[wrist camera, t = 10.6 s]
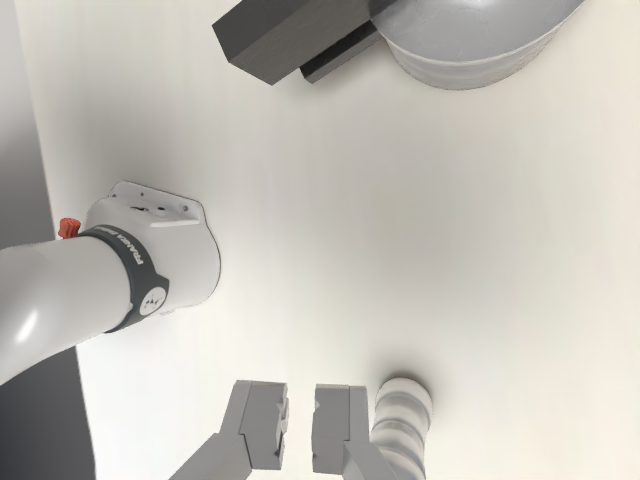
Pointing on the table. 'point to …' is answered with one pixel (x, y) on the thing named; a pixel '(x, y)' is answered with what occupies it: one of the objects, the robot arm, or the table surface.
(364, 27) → the cooker pot
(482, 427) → the table surface
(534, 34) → the lid
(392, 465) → the plastic bottle
